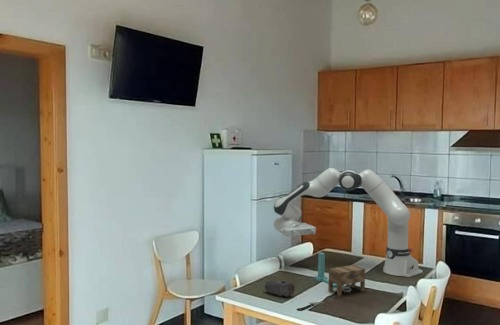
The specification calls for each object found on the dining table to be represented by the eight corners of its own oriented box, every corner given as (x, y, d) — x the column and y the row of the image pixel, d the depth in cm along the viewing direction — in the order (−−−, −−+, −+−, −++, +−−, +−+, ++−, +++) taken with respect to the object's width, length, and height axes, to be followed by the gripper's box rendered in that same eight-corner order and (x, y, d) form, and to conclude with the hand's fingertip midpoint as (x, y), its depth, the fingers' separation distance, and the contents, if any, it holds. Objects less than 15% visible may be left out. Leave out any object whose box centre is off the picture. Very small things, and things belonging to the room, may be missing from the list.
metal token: (346, 289, 227) (346, 286, 227) (352, 292, 223) (353, 289, 223) (339, 290, 225) (340, 287, 225) (345, 293, 221) (346, 290, 221)
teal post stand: (313, 279, 242) (313, 253, 241) (323, 277, 245) (324, 251, 244) (332, 288, 228) (333, 260, 227) (343, 286, 231) (344, 259, 230)
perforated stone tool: (262, 293, 219) (262, 278, 218) (267, 290, 223) (268, 276, 223) (289, 299, 210) (290, 285, 210) (295, 296, 215) (295, 282, 215)
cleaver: (283, 306, 203) (301, 312, 196) (283, 305, 203) (301, 311, 196) (324, 292, 223) (341, 297, 216) (324, 291, 223) (341, 296, 216)
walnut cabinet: (353, 286, 232) (354, 264, 231) (365, 291, 224) (366, 269, 223) (328, 290, 224) (329, 268, 223) (340, 296, 216) (340, 273, 216)
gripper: (277, 224, 259) (291, 229, 247) (307, 222, 269) (322, 226, 257) (277, 235, 259) (291, 240, 247) (306, 232, 269) (321, 237, 257)
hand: (307, 233), depth 252 cm, fingers open, 8 cm apart
